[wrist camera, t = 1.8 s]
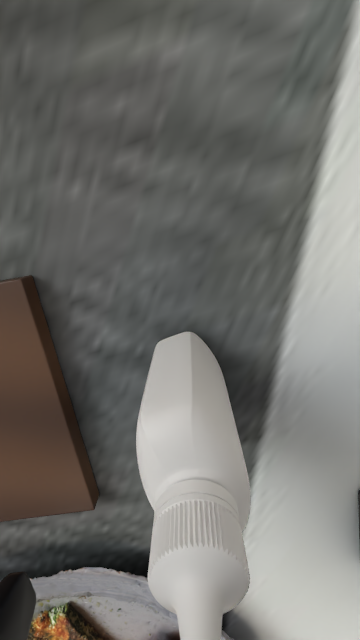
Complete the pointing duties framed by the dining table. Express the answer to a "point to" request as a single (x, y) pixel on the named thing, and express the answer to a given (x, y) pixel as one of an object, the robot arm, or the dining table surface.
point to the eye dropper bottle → (193, 487)
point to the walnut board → (36, 416)
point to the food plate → (100, 608)
